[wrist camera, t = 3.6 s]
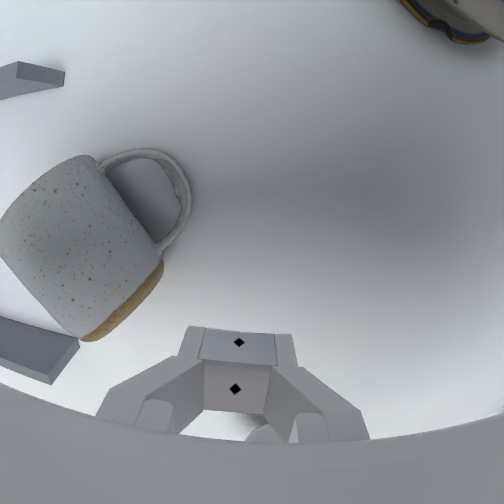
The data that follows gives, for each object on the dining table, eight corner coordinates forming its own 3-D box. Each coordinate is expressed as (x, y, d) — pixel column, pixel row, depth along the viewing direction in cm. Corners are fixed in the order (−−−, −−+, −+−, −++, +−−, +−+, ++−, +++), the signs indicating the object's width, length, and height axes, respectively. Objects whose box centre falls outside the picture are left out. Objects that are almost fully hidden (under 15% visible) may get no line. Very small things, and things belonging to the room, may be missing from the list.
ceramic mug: (114, 309, 21) (64, 374, 14) (44, 222, 19) (-28, 258, 12) (227, 218, 19) (208, 264, 12) (143, 114, 17) (77, 100, 10)
